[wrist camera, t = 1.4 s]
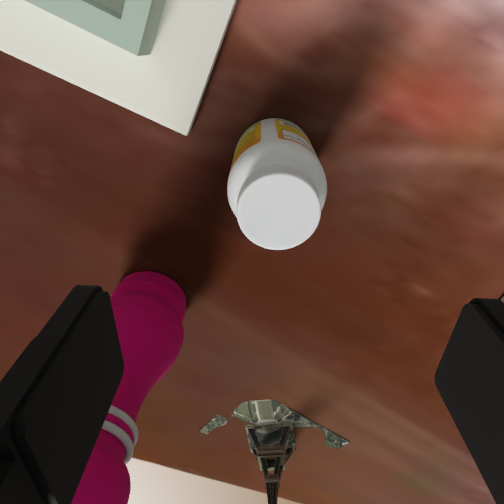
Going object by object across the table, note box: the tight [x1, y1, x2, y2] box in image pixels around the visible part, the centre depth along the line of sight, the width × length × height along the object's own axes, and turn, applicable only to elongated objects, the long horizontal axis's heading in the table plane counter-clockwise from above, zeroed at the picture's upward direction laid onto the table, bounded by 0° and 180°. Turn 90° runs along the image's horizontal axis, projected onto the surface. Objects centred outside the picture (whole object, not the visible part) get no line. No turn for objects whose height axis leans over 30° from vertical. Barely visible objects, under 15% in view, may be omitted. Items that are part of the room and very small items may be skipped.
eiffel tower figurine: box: [199, 400, 349, 504], centre depth 36 cm, size 15×10×13 cm
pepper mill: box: [71, 271, 187, 504], centre depth 23 cm, size 7×7×20 cm
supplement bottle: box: [227, 118, 327, 250], centre depth 21 cm, size 5×5×10 cm
